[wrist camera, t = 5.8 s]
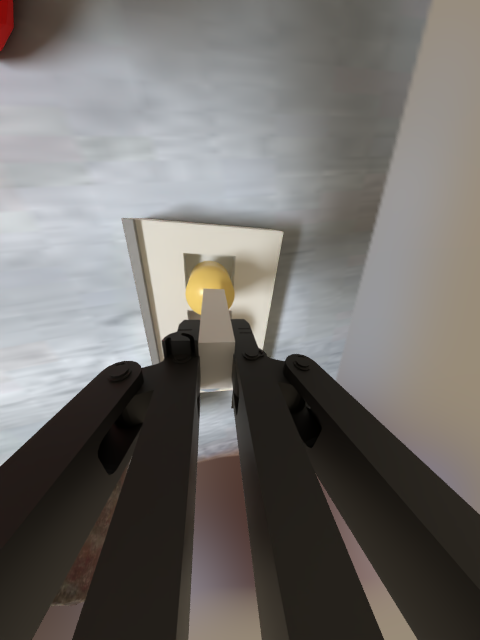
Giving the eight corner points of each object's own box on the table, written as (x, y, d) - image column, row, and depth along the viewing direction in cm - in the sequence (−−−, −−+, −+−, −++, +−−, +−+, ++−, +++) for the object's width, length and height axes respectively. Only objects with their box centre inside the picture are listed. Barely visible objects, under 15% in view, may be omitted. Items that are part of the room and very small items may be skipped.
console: (143, 218, 19) (121, 218, 14) (268, 228, 22) (285, 232, 17) (167, 369, 30) (159, 399, 25) (249, 365, 32) (256, 391, 27)
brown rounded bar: (157, 406, 34) (104, 601, 17) (127, 422, 35) (47, 623, 17) (124, 384, 30) (11, 608, 13) (91, 403, 31) (-56, 636, 14)
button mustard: (188, 259, 17) (183, 270, 13) (230, 261, 18) (236, 272, 14) (190, 298, 19) (187, 316, 15) (228, 299, 20) (233, 316, 16)
